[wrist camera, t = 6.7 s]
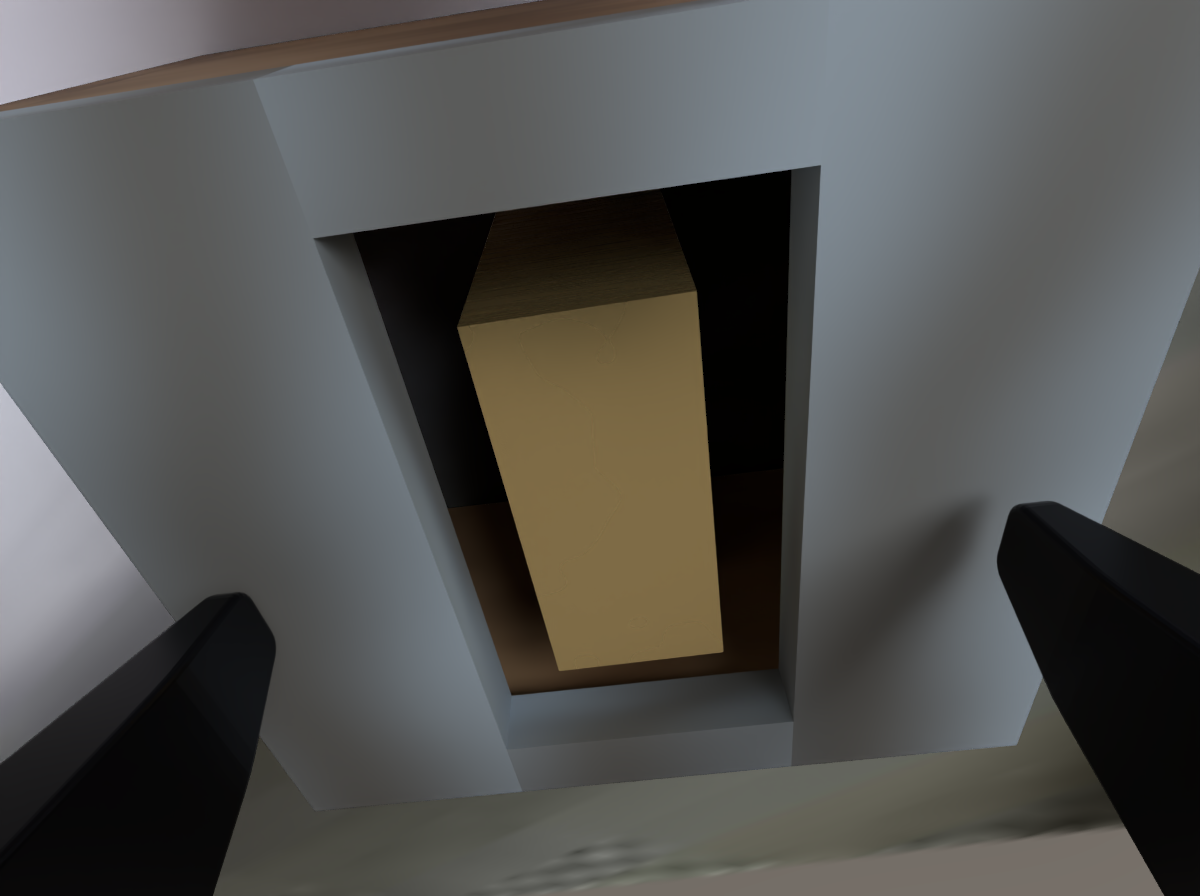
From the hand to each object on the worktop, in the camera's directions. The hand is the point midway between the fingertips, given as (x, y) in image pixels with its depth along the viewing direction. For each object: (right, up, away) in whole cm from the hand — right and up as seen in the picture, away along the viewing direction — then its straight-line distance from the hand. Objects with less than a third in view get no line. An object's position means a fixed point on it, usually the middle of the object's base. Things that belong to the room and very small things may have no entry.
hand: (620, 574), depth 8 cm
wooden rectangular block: (0, +4, +6) cm, 8 cm away
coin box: (0, +4, +6) cm, 8 cm away
